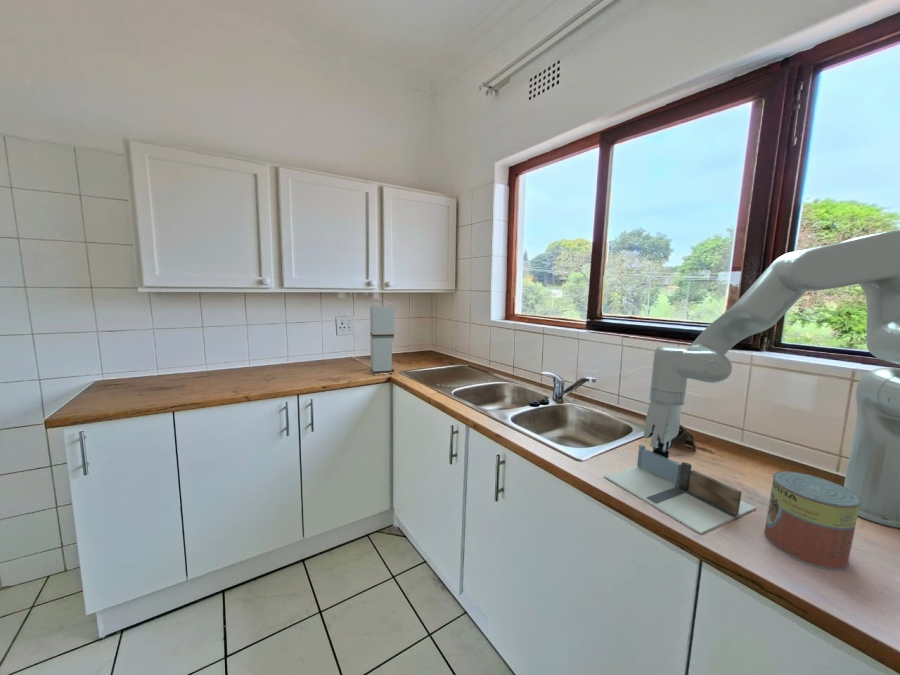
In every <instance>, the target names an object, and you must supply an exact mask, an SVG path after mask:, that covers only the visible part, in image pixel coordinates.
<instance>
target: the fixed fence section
mask: <svg viewBox="0 0 900 675" xmlns="http://www.w3.org/2000/svg"><path fill="white" fill-rule="evenodd" d="M692 467H693V466H692V464H690V463H689V462H684V461H683V462H681V471H680V479H679V489H681V490H683V491H688V490H689V492H691V493H693V494H695V495H697V496H699V497H701V498H703V499H705V500H707V501H709V502H711V503H713V504H715V505H717V506H719V507H721V508H723V509H725V510H727V511H729V512H731V513H733V514H735V515H737V514H738V513H739V506H740V500H741V498H742V492H743V491H742V490H739V489H737V488H734V487H732V486H730V485H728V484H726V483H724V482H721V481H719V480H717V479H714V478H713V477H710V476H708V475H706V474H703V473H701V472H699V471H697V470H694V469H693V470H692ZM741 501H742V500H741Z"/></svg>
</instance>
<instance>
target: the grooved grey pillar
mask: <svg viewBox="0 0 900 675" xmlns="http://www.w3.org/2000/svg"><path fill="white" fill-rule="evenodd" d="M369 311H370V312H369V314H370V316H369V319H370V321H369V323H370V324H369V325H370V328H369V329H370V333H369V334H370V335H369V336H370V345H369V346H370V372H371V371H372V372H371V374H372V373H373V374H380V373H390V372H394V373H395V370H394V369H393V365H392V364H393V363H392V362H393V361H392V360H393V359H392V358H393V353H392V352H393V350H392V346H393V345H392V344H393V343H392V342H393V341H395V307H393V306H391V305H388V306H387V307H386V306H385V307H384V306H383V307H382V306H381V307H379V306H373V305H370V308H369ZM373 374H372V375H373Z"/></svg>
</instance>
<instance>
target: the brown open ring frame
mask: <svg viewBox="0 0 900 675" xmlns="http://www.w3.org/2000/svg"><path fill="white" fill-rule="evenodd" d="M686 445H687V446H690V447H691V448H692V449H693V451H694V452H696V450H697V448H696V447H697V445H696V443H695V441H694V435H693V433H692V432H691V431H690V430H688V429H687V428H686V427H685V426H684V425H683V424H680V427H679V432H678V435H677V436H676V437H674V438H673V439H671V444H670V448H671V447H680V446H681V447H684V448H685V447H686V448H687V446H686Z"/></svg>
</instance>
